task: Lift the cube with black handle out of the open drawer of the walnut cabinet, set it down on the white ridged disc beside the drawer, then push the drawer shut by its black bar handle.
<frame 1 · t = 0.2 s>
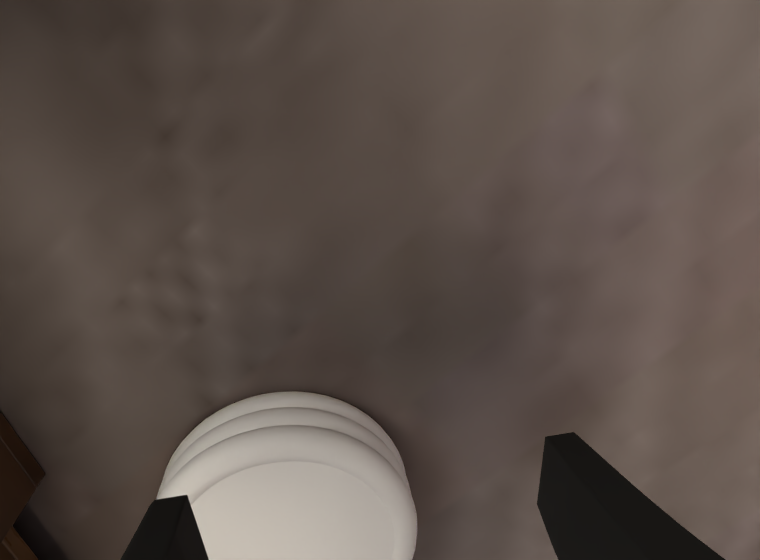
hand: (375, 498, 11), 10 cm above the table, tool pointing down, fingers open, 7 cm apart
white ridged disc: (288, 485, 24), on the table
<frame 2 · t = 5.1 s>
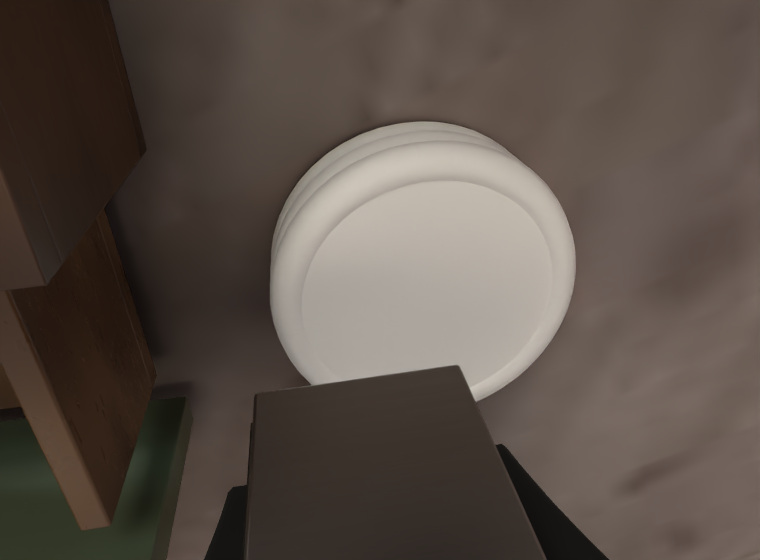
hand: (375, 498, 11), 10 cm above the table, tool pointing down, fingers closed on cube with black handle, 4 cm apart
white ridged disc: (408, 252, 21), on the table
cube with black handle: (367, 468, 12), point 10 cm above the table, touching gripper
when the fingers open (4 cm above the table, at t = 7.4 s): cube with black handle stays where it is, resting on white ridged disc.
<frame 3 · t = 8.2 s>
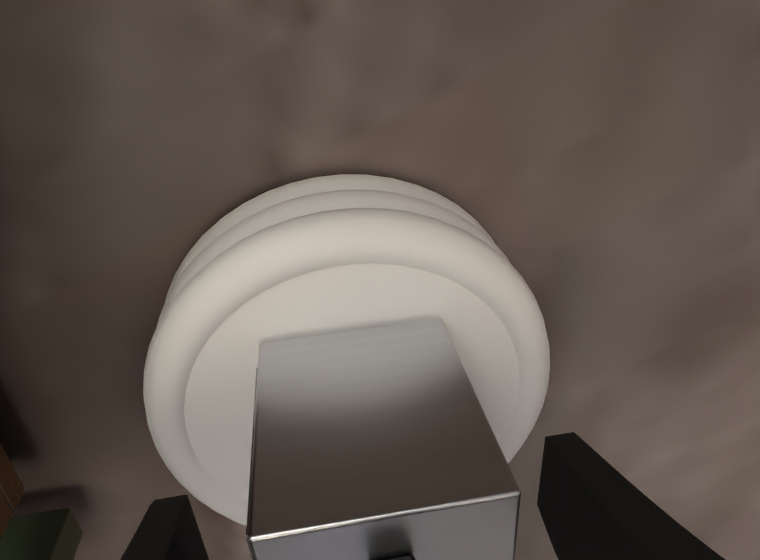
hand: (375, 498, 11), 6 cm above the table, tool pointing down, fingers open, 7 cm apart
white ridged disc: (344, 328, 17), on the table, touching cube with black handle
cube with black handle: (360, 414, 13), point 4 cm above the table, touching white ridged disc
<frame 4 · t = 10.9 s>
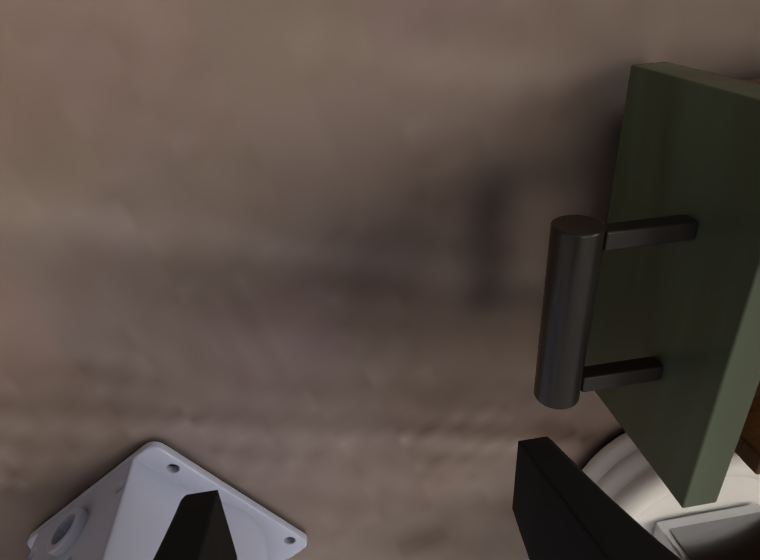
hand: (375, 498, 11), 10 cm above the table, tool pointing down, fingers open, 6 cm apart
white ridged disc: (652, 477, 29), on the table, touching cube with black handle
cube with black handle: (697, 540, 26), point 4 cm above the table, touching white ridged disc
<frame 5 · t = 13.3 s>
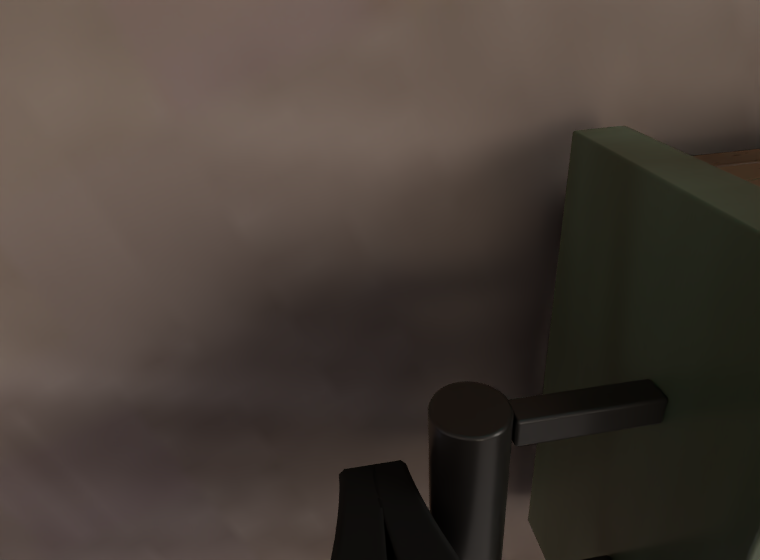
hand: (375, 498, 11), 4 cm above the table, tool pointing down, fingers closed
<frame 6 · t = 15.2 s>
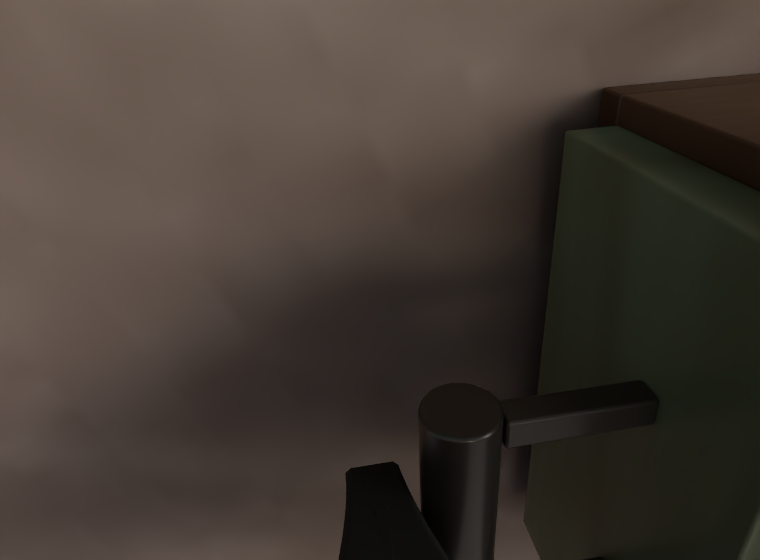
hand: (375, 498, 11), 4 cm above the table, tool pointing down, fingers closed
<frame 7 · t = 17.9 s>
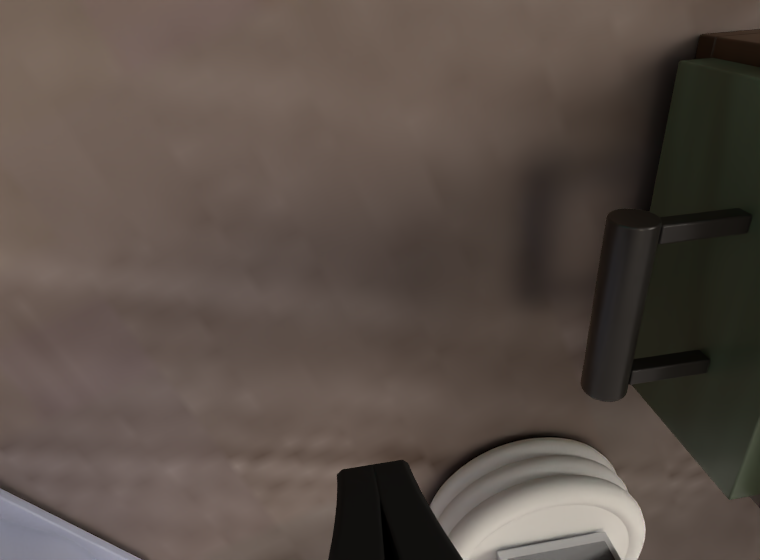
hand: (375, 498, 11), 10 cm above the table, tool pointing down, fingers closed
white ridged disc: (517, 501, 29), on the table, touching cube with black handle
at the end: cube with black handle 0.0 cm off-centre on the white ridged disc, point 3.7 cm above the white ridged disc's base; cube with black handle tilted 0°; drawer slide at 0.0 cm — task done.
